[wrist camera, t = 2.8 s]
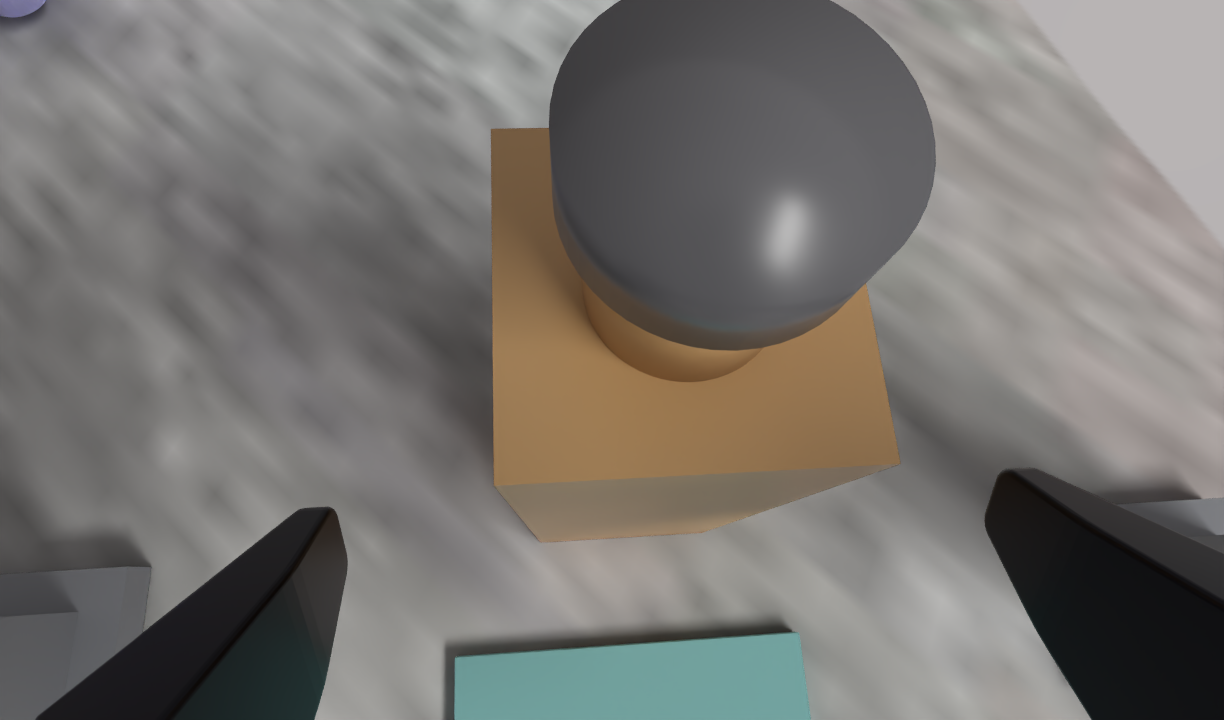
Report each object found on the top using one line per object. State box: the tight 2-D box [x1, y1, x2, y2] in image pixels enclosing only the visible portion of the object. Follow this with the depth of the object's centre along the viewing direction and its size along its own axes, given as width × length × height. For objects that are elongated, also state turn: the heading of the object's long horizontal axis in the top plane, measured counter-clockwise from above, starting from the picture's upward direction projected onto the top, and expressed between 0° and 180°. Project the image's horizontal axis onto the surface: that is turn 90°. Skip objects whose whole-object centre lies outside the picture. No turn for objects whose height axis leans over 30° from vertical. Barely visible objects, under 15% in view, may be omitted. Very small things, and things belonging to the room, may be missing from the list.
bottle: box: [491, 0, 936, 542], centre depth 12 cm, size 4×4×15 cm
